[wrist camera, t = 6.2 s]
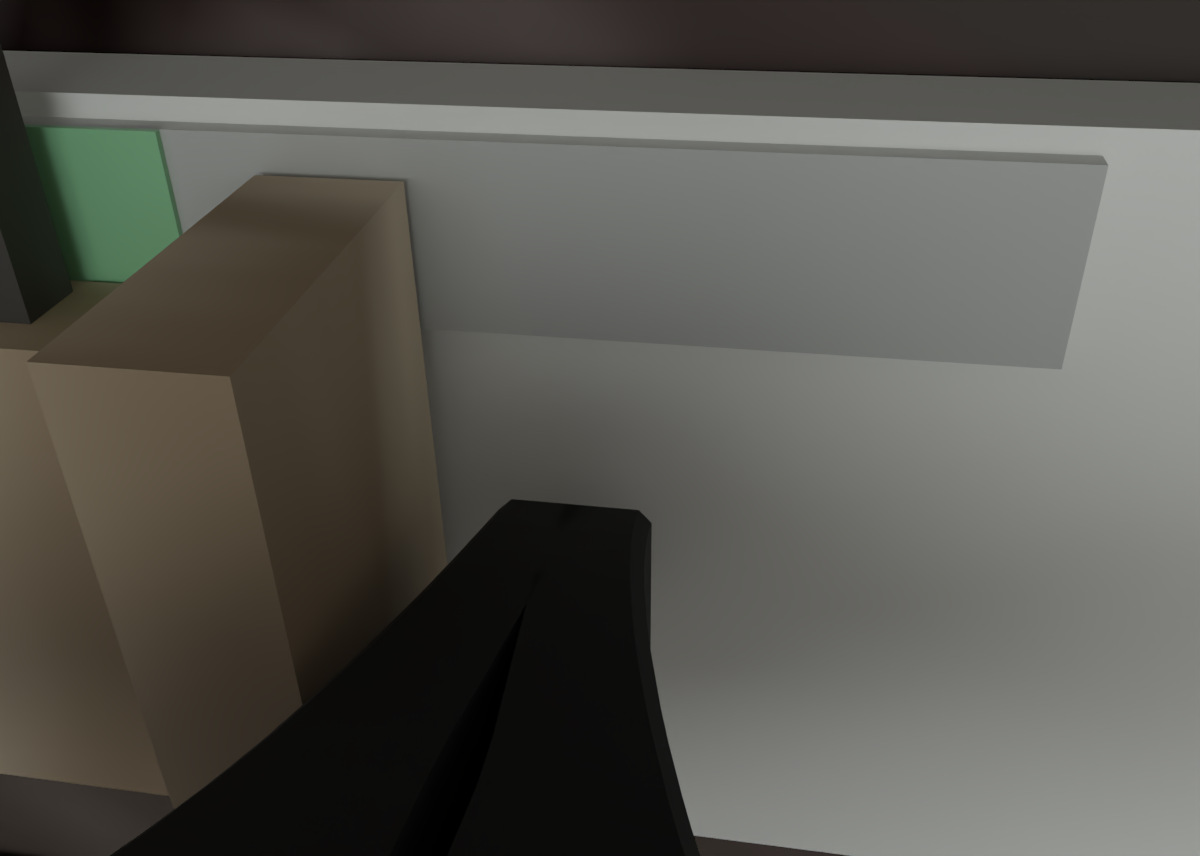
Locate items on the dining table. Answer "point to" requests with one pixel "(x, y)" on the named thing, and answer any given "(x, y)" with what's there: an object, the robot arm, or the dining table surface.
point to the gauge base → (781, 396)
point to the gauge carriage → (203, 474)
